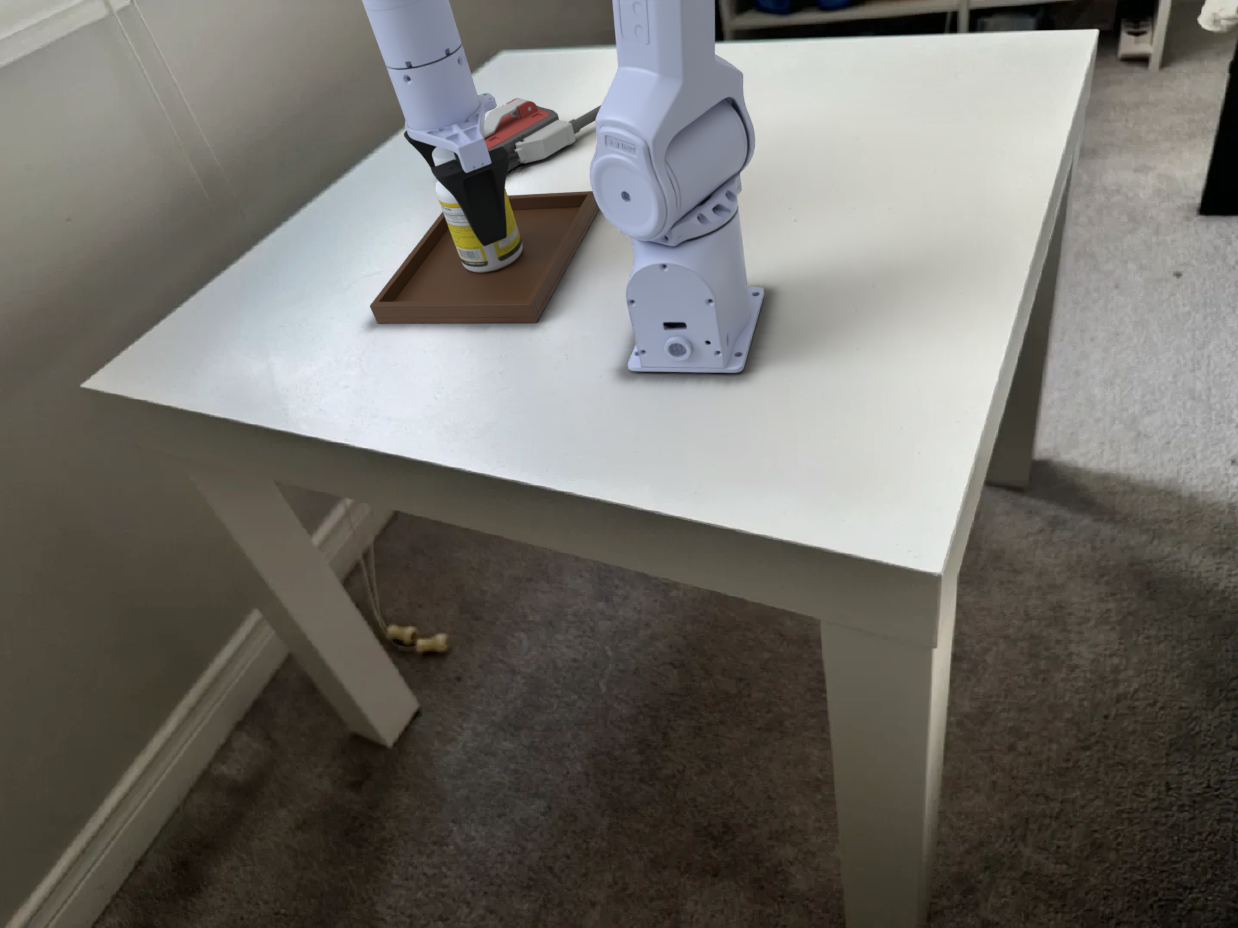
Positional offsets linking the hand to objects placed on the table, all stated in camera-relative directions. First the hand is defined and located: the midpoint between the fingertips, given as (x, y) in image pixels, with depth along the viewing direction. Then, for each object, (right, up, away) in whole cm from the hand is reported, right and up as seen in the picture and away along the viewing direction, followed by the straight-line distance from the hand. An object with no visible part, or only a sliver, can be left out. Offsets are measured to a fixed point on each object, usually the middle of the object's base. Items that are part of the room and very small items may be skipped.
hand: (479, 222), depth 74 cm
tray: (+1, -3, +3) cm, 4 cm away
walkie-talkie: (+3, +13, +19) cm, 23 cm away
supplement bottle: (+1, -2, +2) cm, 4 cm away
